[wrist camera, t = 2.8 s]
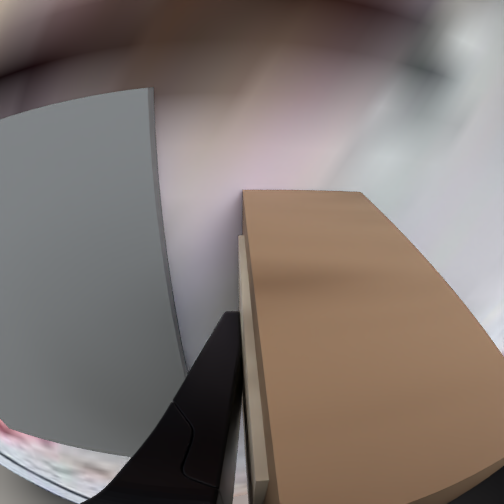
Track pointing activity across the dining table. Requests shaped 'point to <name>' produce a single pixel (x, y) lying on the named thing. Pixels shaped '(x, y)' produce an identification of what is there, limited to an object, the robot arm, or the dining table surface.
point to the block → (357, 360)
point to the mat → (85, 275)
